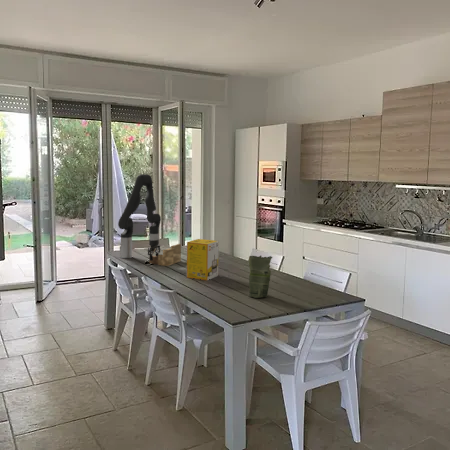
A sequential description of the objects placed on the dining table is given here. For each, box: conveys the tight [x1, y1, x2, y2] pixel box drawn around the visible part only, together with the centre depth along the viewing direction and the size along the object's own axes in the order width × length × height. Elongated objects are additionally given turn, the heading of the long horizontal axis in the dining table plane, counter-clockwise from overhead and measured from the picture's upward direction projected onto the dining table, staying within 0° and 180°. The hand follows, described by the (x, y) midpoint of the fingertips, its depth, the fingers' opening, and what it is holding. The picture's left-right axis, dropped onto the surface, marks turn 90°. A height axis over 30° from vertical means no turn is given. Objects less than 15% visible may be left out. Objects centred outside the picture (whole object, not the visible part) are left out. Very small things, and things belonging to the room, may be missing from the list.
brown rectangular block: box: [148, 254, 159, 265], centre depth 362 cm, size 13×4×6 cm, turn 66°
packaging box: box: [186, 238, 220, 281], centre depth 321 cm, size 16×16×25 cm
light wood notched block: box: [158, 243, 182, 267], centre depth 364 cm, size 8×21×14 cm, turn 156°
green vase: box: [248, 255, 273, 299], centre depth 275 cm, size 11×12×25 cm
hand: (154, 259), depth 364 cm, fingers open, 8 cm apart
